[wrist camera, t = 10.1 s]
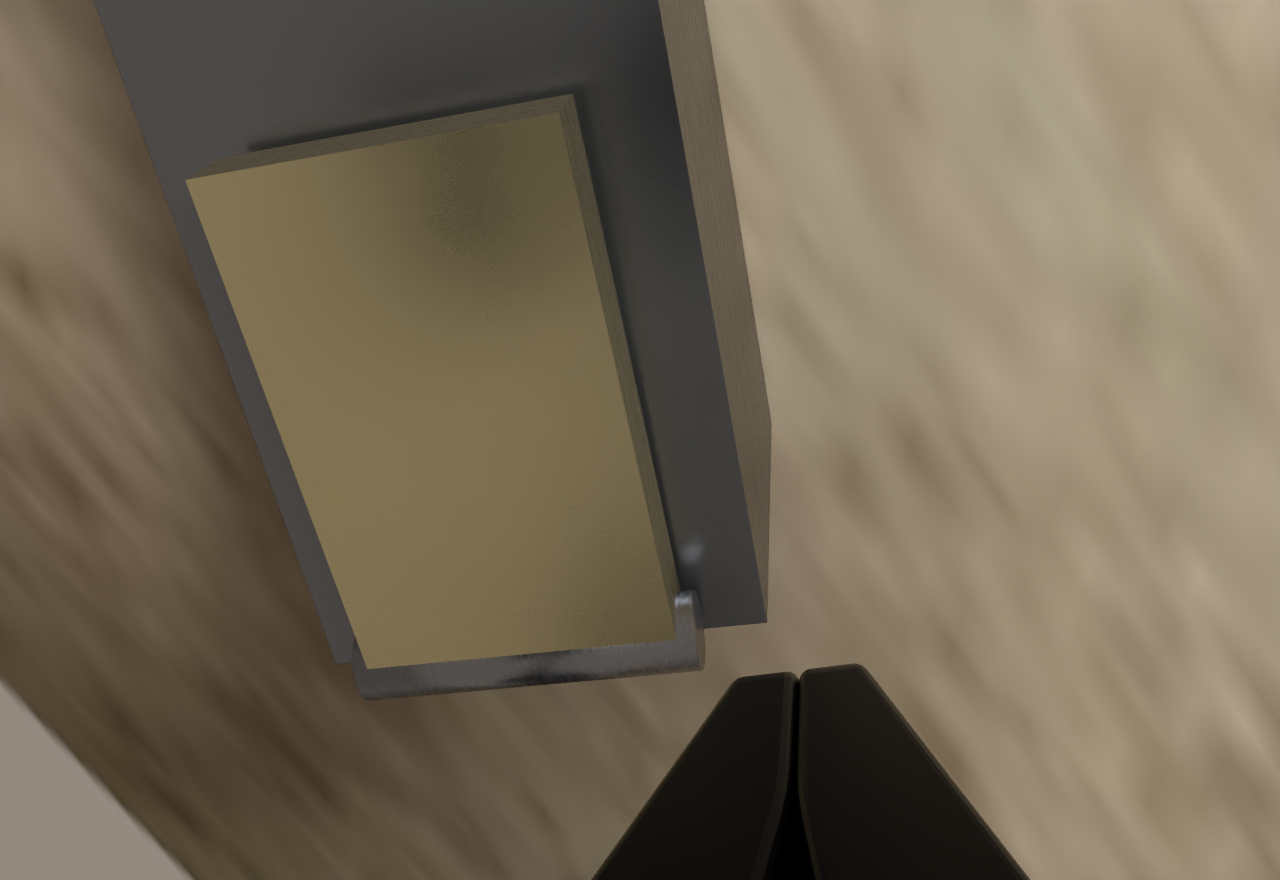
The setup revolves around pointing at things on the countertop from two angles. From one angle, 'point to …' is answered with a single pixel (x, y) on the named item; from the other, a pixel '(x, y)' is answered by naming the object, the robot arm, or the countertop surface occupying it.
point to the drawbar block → (623, 185)
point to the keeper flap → (457, 398)
